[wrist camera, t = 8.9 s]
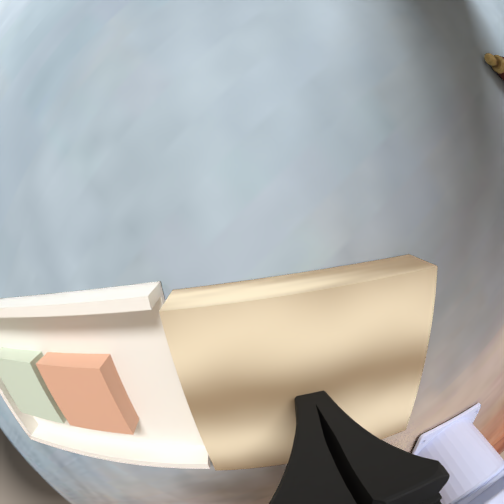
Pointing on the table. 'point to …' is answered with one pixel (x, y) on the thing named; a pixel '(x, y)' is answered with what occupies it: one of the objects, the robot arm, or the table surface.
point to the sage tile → (28, 384)
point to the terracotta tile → (89, 391)
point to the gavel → (496, 63)
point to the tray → (127, 365)
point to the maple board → (300, 352)
